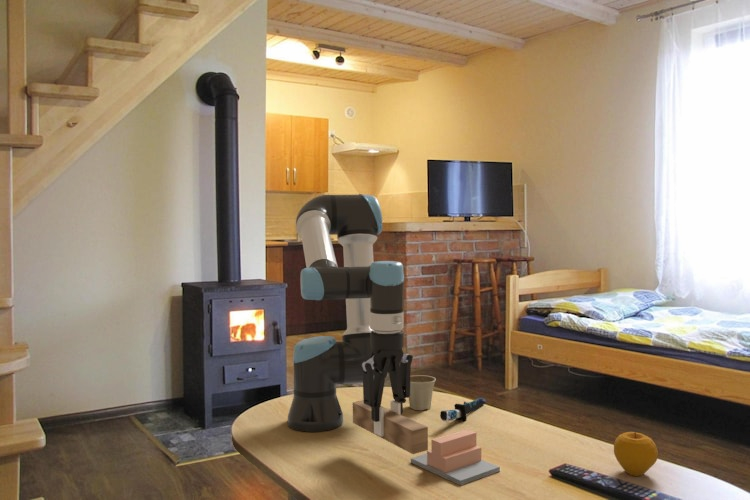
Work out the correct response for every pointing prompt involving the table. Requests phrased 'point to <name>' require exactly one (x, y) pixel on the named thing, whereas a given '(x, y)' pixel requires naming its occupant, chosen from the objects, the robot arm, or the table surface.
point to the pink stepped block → (456, 458)
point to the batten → (394, 428)
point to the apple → (635, 452)
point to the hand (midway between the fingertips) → (387, 431)
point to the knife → (462, 410)
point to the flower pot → (421, 392)
